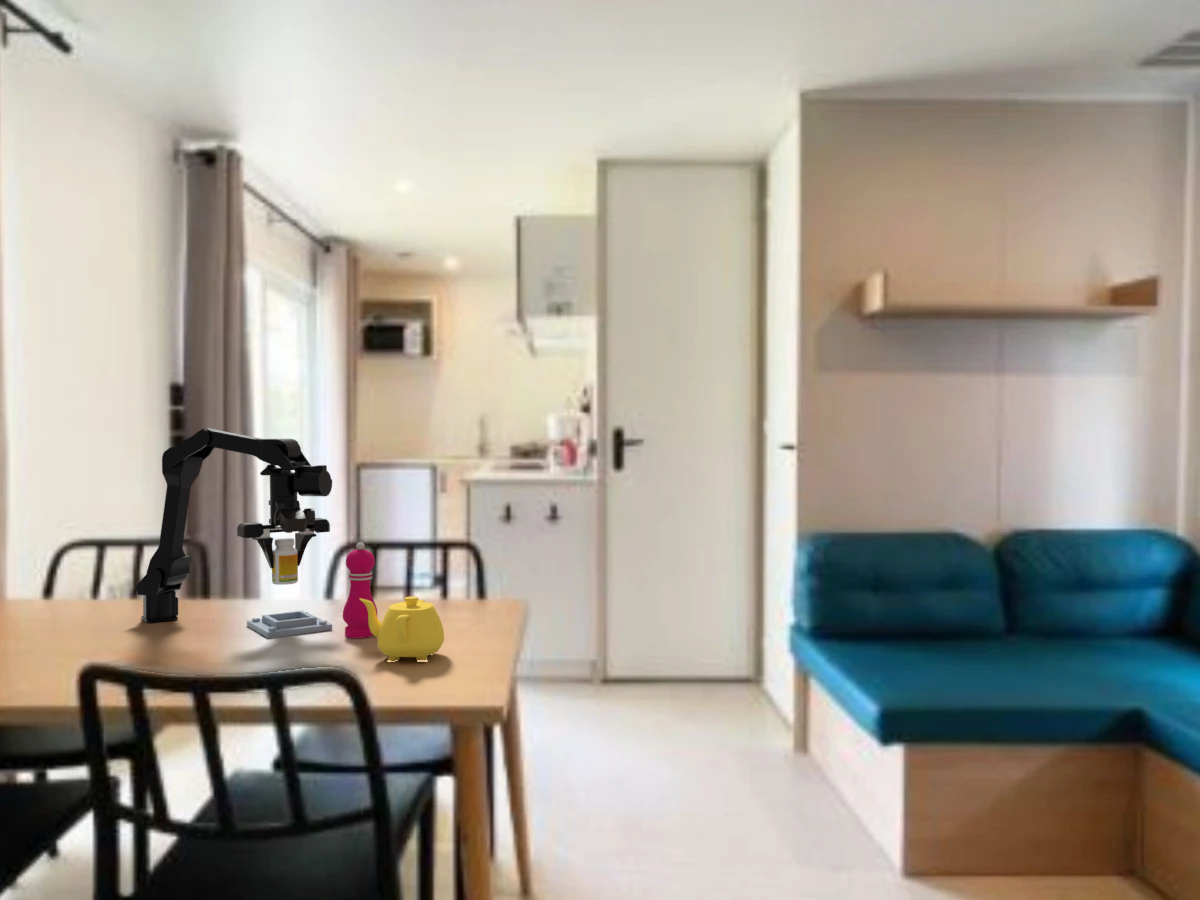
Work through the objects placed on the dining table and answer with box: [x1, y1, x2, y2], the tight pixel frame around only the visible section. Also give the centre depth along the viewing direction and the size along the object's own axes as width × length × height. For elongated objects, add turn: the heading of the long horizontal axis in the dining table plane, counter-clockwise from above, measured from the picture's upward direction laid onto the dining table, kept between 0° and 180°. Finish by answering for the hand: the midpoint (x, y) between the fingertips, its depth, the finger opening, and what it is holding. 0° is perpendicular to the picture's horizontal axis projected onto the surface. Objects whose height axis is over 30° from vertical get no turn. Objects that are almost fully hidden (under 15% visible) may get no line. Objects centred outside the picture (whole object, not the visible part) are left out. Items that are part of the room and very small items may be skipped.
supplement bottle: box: [271, 537, 299, 586], centre depth 208 cm, size 5×5×10 cm
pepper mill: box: [342, 541, 378, 639], centre depth 202 cm, size 7×7×20 cm
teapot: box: [360, 596, 445, 661], centre depth 184 cm, size 14×14×12 cm
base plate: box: [246, 610, 333, 639], centre depth 208 cm, size 14×14×3 cm
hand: (284, 567), depth 208 cm, fingers closed on supplement bottle, 5 cm apart
